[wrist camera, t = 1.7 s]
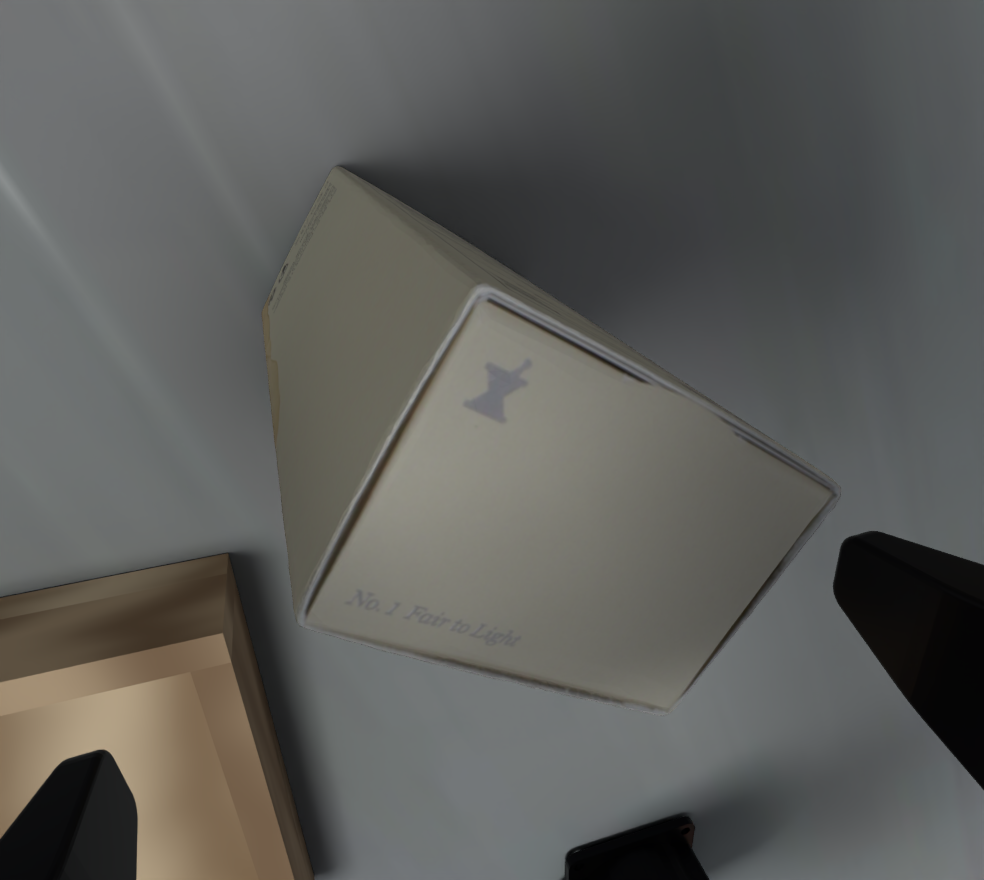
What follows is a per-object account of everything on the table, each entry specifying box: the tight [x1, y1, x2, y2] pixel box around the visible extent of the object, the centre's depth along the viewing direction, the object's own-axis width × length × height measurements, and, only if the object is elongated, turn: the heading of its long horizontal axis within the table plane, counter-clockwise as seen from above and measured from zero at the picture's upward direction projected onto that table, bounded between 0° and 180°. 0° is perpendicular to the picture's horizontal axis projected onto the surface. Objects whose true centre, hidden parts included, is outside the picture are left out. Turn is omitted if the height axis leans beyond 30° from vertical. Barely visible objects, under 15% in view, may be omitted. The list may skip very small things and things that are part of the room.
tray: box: [0, 553, 315, 880], centre depth 21 cm, size 16×16×4 cm
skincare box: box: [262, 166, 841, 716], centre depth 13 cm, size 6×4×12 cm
